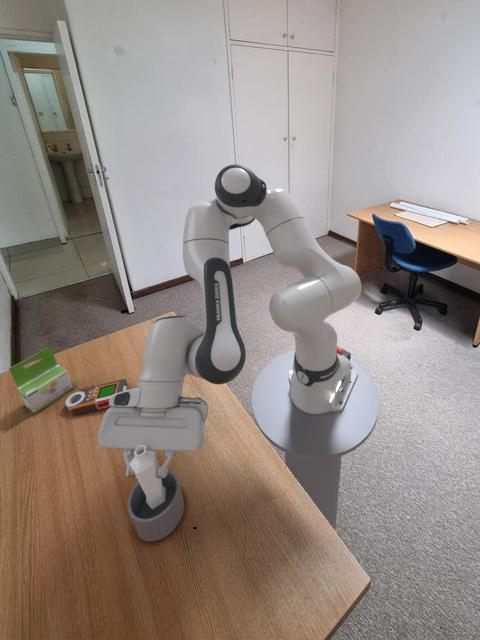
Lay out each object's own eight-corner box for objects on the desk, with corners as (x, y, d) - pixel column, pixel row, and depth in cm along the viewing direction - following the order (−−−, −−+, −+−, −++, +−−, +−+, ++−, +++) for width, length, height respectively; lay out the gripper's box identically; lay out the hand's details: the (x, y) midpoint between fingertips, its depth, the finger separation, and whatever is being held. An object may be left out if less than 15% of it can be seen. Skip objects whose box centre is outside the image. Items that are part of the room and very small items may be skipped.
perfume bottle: (145, 489, 67) (127, 442, 61) (167, 482, 68) (153, 435, 62) (142, 514, 63) (123, 467, 57) (166, 506, 64) (150, 459, 58)
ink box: (33, 415, 88) (14, 377, 82) (25, 406, 91) (6, 368, 85) (74, 388, 96) (59, 352, 90) (65, 380, 99) (50, 344, 93)
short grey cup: (168, 478, 74) (162, 459, 71) (193, 508, 68) (188, 489, 65) (126, 517, 67) (118, 498, 64) (150, 554, 62) (143, 534, 59)
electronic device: (69, 391, 92) (126, 377, 96) (72, 398, 93) (129, 384, 97) (60, 411, 86) (122, 396, 90) (64, 419, 88) (125, 403, 91)
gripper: (213, 396, 69) (205, 473, 64) (119, 392, 70) (104, 468, 65) (204, 399, 63) (194, 484, 58) (101, 395, 64) (83, 479, 59)
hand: (146, 476), depth 62 cm, fingers closed on perfume bottle, 4 cm apart
